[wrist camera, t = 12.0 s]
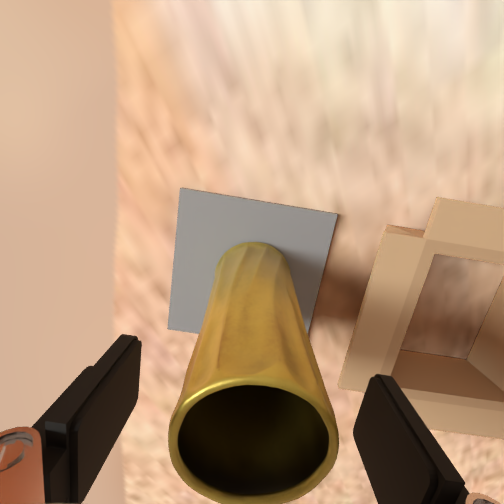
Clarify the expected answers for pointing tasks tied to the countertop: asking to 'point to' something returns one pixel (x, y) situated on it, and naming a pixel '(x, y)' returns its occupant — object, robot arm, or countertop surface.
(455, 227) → the carton
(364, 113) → the countertop surface
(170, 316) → the mat
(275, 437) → the vase
